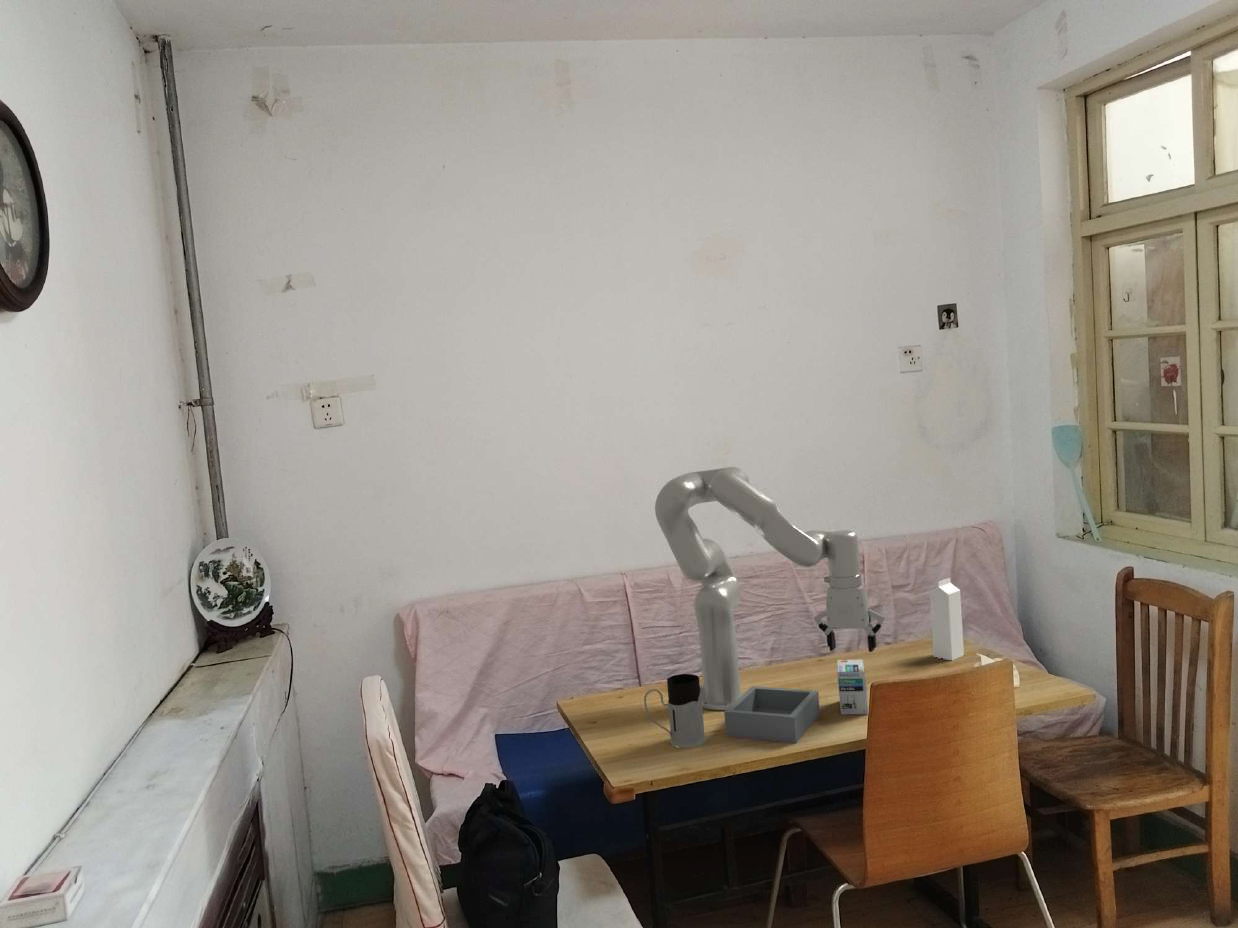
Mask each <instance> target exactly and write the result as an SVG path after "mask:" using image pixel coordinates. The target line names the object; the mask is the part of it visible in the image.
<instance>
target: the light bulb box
mask: <svg viewBox="0 0 1238 928" xmlns="http://www.w3.org/2000/svg"><path fill="white" fill-rule="evenodd" d="M864 662H865V661H864V659H837V661H836V673H837V682H838V683H837V684H838V685H837V686H838V687H837V688H838V694H839V696H838V697H839V705H840V707H839V709H840V715H841V716H842V715H843V716H844V715H868V714H867V712H868V713H869V703H868V690H867V678H866V671H865V664H864Z"/></svg>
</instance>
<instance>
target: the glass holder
mask: <svg viewBox="0 0 1238 928" xmlns="http://www.w3.org/2000/svg"><path fill="white" fill-rule="evenodd" d="M666 683H667V684H666V686H667V697H668V700H667V702H668V703H664V698H663V694H662V692H660V690H659V689H656V688H655V689H654V688H652V689H649V690H647V692H645V695H644V698H643V703H644V704H643V706H644V709H645V712H646V714H647V716H648V718H649V719H650V721H652V722H653V723H654V724H655V725H657V726H658V727H660V728H661V729H662V730H665V731H666V732H668V734H669V737H670V739H669V744H670V743H671V744H672V745H674V746H678V747H680V748H679V749H693V747H695V748H698V747H697V746H699V747H701V746H704V745H705V744H706V743H707V742H708V739H707V737H706V734H705V725H704V712H703V711H704V710H703V707H702V698H701V688H700V685H701V684H700V677H699V676H698V675H696V674H693V673H692V674H691V673H680V674H674V675H671V676H669V677H668V678H667V679H666ZM652 692H657V693H658V694H659V696H660V701H661V704H662V705H663V706H664V707H665V706H666V707H667V706H668V717H669V718H668V719H669V726H670V727H669V729H670V730H669V729H667V728H666V727H665V726H663V725H661V724H659V723H658V722H657V721H656V720H654V718H653V717H652V715H651V714H650V712H649V709H648V706H647V697H648V695H649V694H650V693H652ZM706 741H707V742H706ZM704 743H705V744H704ZM672 745H671V746H672ZM674 746H673V747H674Z"/></svg>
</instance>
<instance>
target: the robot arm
mask: <svg viewBox="0 0 1238 928" xmlns="http://www.w3.org/2000/svg"><path fill="white" fill-rule="evenodd" d="M711 502H712V503H713V502H717V503H719V504H720V505H722V506H723V507H725V508H726V509H727V510H729V511H730V512H731V513H733V514H734V515H736V516H737V517H738V518H740V519H742V520H743V521H744V522H745V523H746V524H748V525H749V526H750V527H753V528H754V530H756V532H757V533H758V534H759V535H760V536H761V537H762V538H763V539H764V540H765V542H767V543H768V544H769V545H770V547H773V549H774V550H776V551H777V552H778V553H780V554H781V555H783V556H784V557H785V558H787V559H788V560H790V561H791V562H793V563H794V564H796V565H798V566H799V567H803V568H813V567H815V566H816V565H818V564H819V563H820V561H822V560H825V559H827V563H828V573H829V575H828V576H824V577H823V578H824V579H823V582H824V583H828V584H829V587H827V589H826V598H825V599H826V600H825V603H826V604H825V605H826V606H825V610H824V611H822V612H820V613H818V614H816V615H815V616H814V618H813V619H814V621H815V622H816V625H818V628H819V629H820V630H821V631H822V632H823V633H824V634H825V636H826V644H827V647H829V652H833V651H834V650H835V649H836V648H837V645H836V634H835V632H834V630H865V632H867V634H868V635H867V646H868V652H869V653H873V651H874V650H875V648H877V636H876V634H877V632H878V631H880V629H882V627H883V625H884V623H885V620H886V616H885V615H883V614H880V613H879V612H877V611H874V610H872V609H871V607H870V601H869V597H868V593H867V590H866V587H865V585H864V584H863V583H862V581H863V580H862V573H861V572H862V571H861V563H860V550H859V539H858V535H857V533H856V532H855V531H852V530H849V529H848V530H847V529H846V530H844V529H843V530H842V529H841V530H835V531H824V530H808V531H805V532H803V531H802V530H800V529H799V528H797V526H795V525H794V524H792V523H791V522H790V521H788V520H787V518H786V517H785V516H784V515H783V513H782V512H781V510H780V508H779V506H778V504H777V502H776V501H775V500H774V498H772V497H771V496H768V495H767V494H766V493H764V492H763V491H762V490H760V489H759V488H758V487H756V486H754V485H753V484H752V483H751V482H750V479H749V476H748V474H747V473H746V472H745V471H744V470H742V469H741V468H739V467H735V466H729V467H728V466H727V467H722V468H716V469H708V470H699V471H691V472H687V473H684V474H682V475H679V476H676V477H674V478H672V479H670V480H669V481H668V482H666V483H665V485H664V486H663V487H662V488H661V489H660V491H659V493H658V494H657V497H656V499H655V505H654V512H655V517H656V520H657V524H658V525H659V527H660V530H661V531H662V533H663V534H664V537H665V539H666V542H667V544H668V546H669V548H670V550H671V552H672V554H673V556H674V558H675V560H676V562H677V564H678V567H679V569H680V571H681V572H682V574H683V575H684V578H686V579H688V580H689V581H692V582H700V583H701V585H702V586H701V587H700V588H699V590H698V591H697V593H696V595H695V599H694V613H695V618H696V621H697V623H696V624H697V628H698V639H699V640H698V641H699V647H700V649H699V650H700V659H701V661H700V662H701V674H702V684H700V688H701V698H702V709H703V708H704V709H706V710H712V711H713V710H714V711H725V710H726V709H728V708H729V707H730V706H731V705H732V704H733V703H734V702H735V701H736V700H737V699H739V698H740V697H741V696H742V695H743V694H744V693H745V692H742V691H741V677H740V666H739V665H740V664H739V653H738V651H739V650H738V642H737V640H738V639H737V630H736V624H735V620H734V614H733V612H734V611H733V610H734V609H735V608H736V607H738V605H739V603H740V601H741V598H742V590H741V589H742V588H741V585H740V582H739V580H738V578H737V576H736V575H735V572H734V570H733V569H732V567H731V564H730V563H729V560H728V558H727V556H726V554H725V552H724V550H723V549H722V547H721V546H720V545H719V544H718V543H717V542H715V540H712V539H709V538H703V537H702V535H701V532H700V531H699V529H698V528H699V527H697V526H698V525H697V524H696V523H695V522H694V520H693V519H692V517H691V516H690V514H689V509H690V508H692V507H693V506H696V505H698V504H704V503H711ZM824 618H826V623H825V622H824V620H823V619H824ZM872 618H873V619H875V620H877V622H876V625H875V626H874V625H873V624H872Z"/></svg>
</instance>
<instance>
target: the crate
mask: <svg viewBox="0 0 1238 928" xmlns="http://www.w3.org/2000/svg"><path fill="white" fill-rule="evenodd" d="M743 693H744V694H743V695H742V696H741V697H740V698H739V699H737V700H736V701H735V702H734V703H733V704H732V705H731V706H730V707H729V708H728V709H726V710H723V711H724V713H723V714H724V723H725V725H724V727H725V736H726V737H729V738H730V737H731V738H738V739H739V738H741V739H750V740H759V741H760V740H761V741H762V740H763V741H771V742H779V741H780V743H788V744H789V743H791V744H792V743H793V744H797V743H798V742H799V740H801V738H802V737H803V735H805V733H806V732H807V731H808V730H809V728H811V726H812V725H813V724H814V722H816V720H817V719H818V718H819V717H820V715H821V712H820V710H821V709H820V697H819V690H811V689H810V690H809V689H808V690H807V689H796V688H785V687H784V688H782V687H769V686H755V685H752V686H751V687H750V688H748V689H747V690H746V691H745V692H743Z"/></svg>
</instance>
